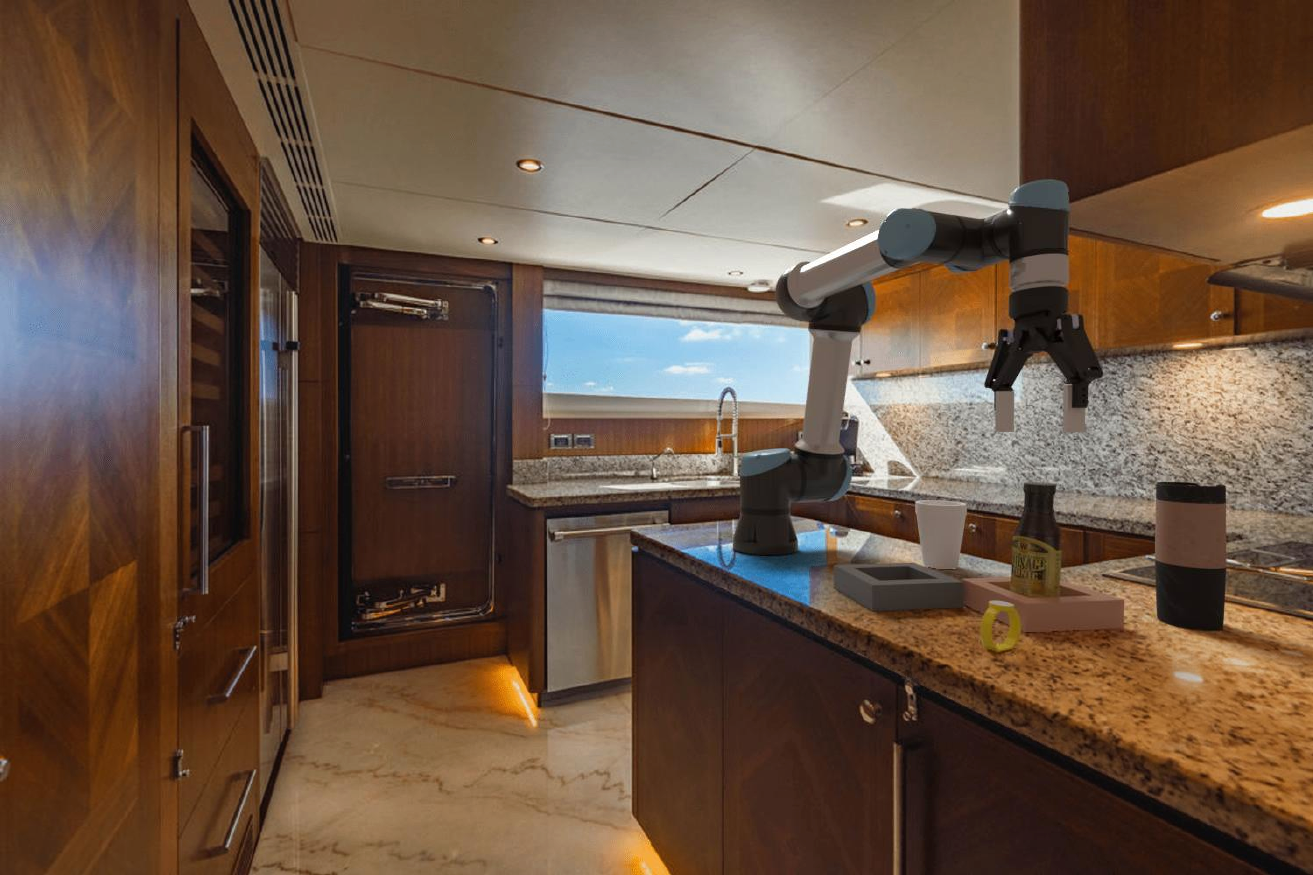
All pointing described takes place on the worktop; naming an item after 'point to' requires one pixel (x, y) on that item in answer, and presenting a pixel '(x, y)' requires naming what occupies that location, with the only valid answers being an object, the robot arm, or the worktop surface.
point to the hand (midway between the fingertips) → (1036, 432)
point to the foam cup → (940, 532)
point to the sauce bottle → (1037, 545)
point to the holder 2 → (1048, 606)
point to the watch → (989, 620)
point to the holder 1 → (898, 586)
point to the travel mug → (1190, 555)
